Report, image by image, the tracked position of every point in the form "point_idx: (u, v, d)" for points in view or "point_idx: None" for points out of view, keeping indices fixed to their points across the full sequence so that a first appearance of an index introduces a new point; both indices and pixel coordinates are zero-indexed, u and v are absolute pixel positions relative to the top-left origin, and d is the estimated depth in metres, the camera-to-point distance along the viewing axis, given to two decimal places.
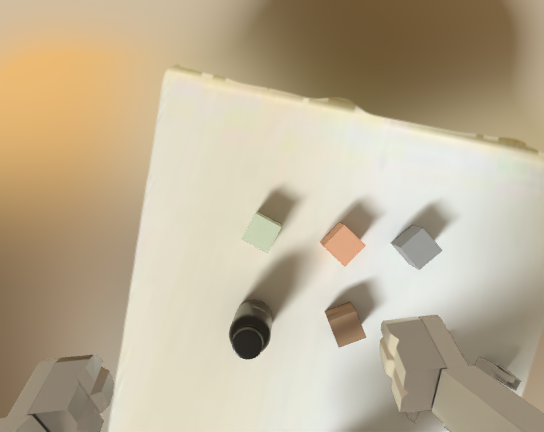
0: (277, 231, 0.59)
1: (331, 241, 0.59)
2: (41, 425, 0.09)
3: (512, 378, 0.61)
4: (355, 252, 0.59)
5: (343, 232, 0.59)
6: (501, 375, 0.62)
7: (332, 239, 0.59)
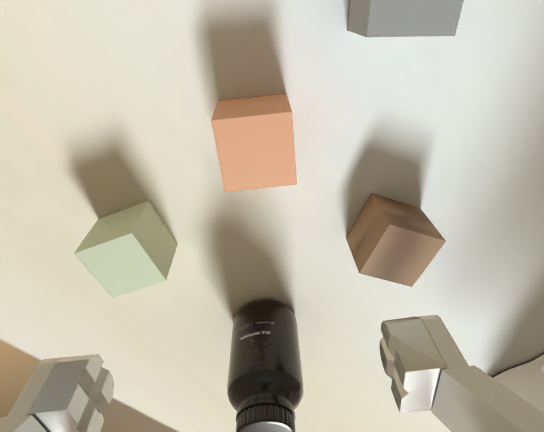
0: (135, 243, 0.26)
1: (226, 171, 0.24)
2: (41, 425, 0.09)
3: None
4: (287, 144, 0.23)
5: (226, 134, 0.22)
6: None
7: (224, 166, 0.23)
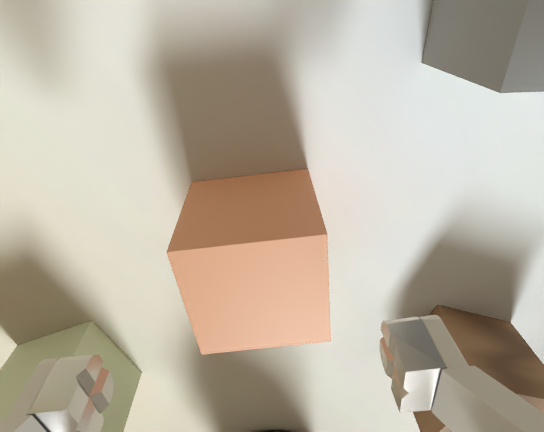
0: None
1: (202, 326, 0.13)
2: (41, 425, 0.09)
3: None
4: (317, 285, 0.12)
5: (198, 273, 0.11)
6: None
7: (197, 320, 0.13)
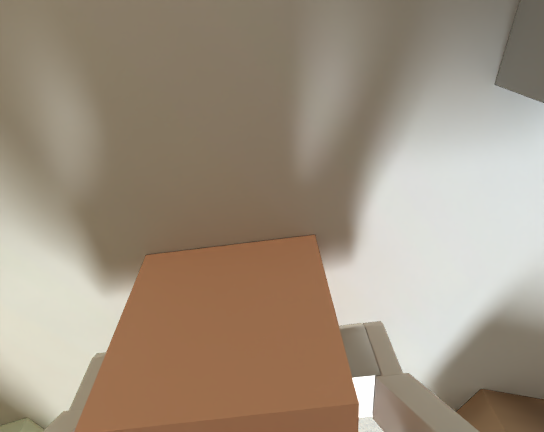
0: None
1: None
2: None
3: None
4: None
5: None
6: None
7: None
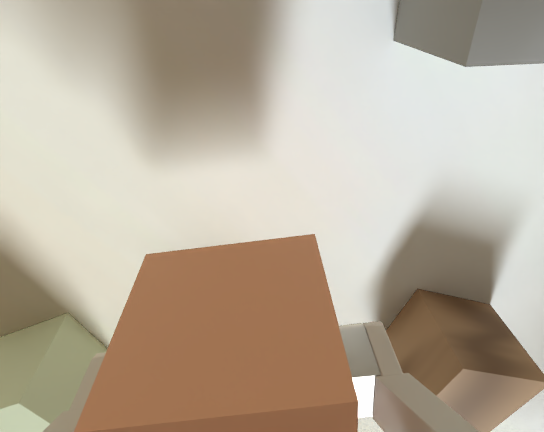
0: (29, 415, 0.15)
1: None
2: None
3: None
4: None
5: None
6: None
7: None
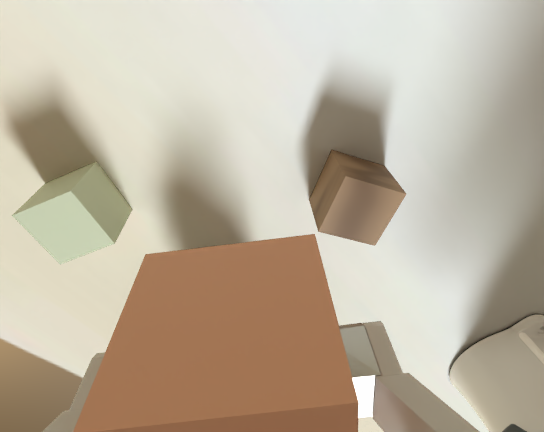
0: (76, 203, 0.25)
1: None
2: None
3: None
4: None
5: None
6: None
7: None
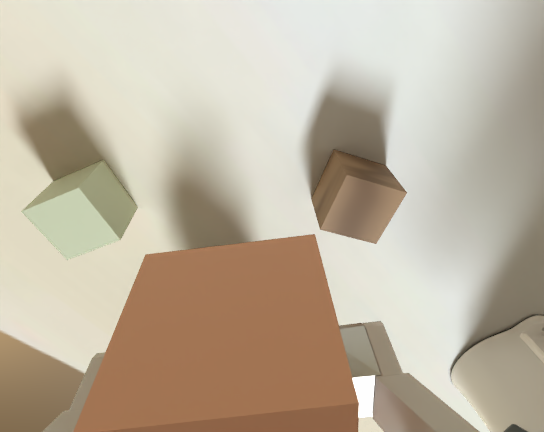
0: (83, 199, 0.25)
1: None
2: None
3: None
4: None
5: None
6: None
7: None
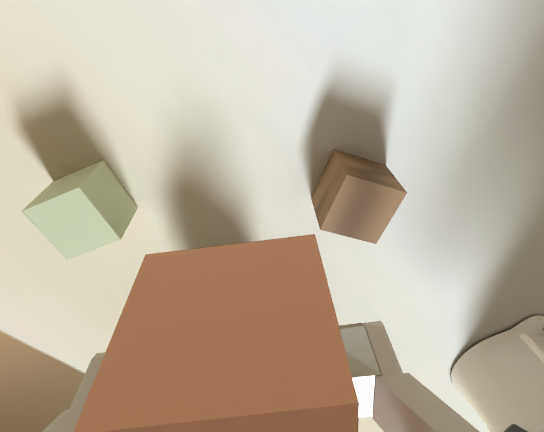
0: (83, 199, 0.25)
1: None
2: None
3: None
4: None
5: None
6: None
7: None
